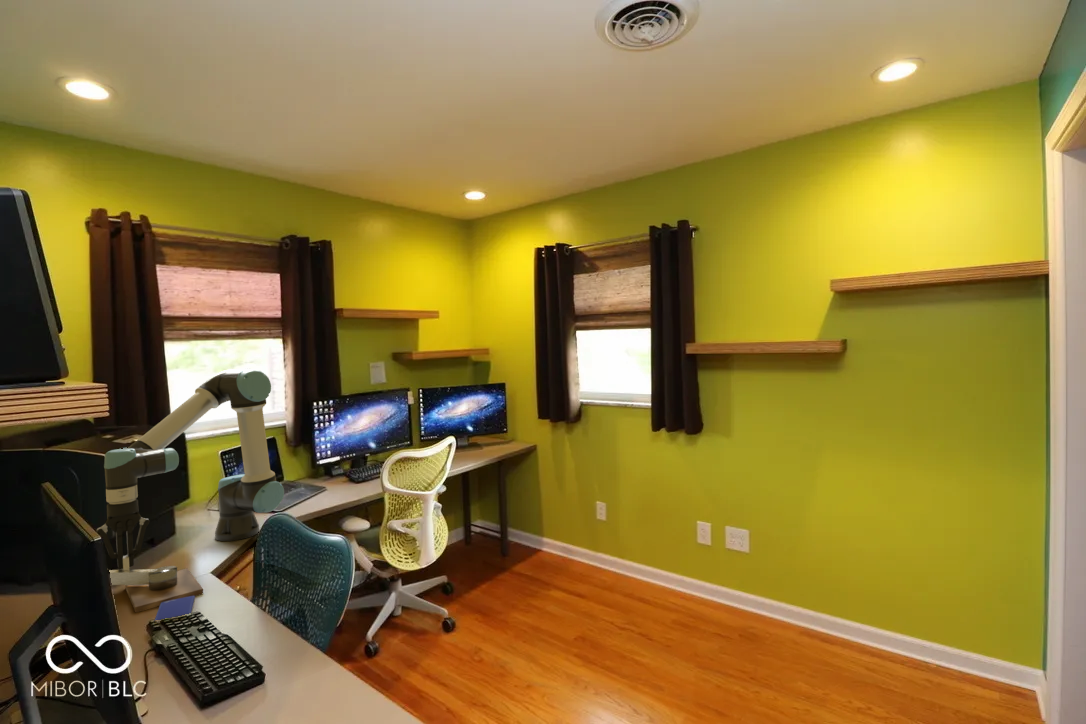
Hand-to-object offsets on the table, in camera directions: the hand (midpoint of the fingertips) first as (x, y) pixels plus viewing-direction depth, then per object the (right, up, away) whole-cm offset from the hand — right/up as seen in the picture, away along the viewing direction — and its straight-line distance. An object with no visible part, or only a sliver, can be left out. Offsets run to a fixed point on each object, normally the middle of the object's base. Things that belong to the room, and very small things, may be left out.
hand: (126, 578), depth 165 cm
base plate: (+13, -3, -3) cm, 14 cm away
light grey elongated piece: (+5, -1, -3) cm, 6 cm away
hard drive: (+26, -4, -16) cm, 30 cm away
